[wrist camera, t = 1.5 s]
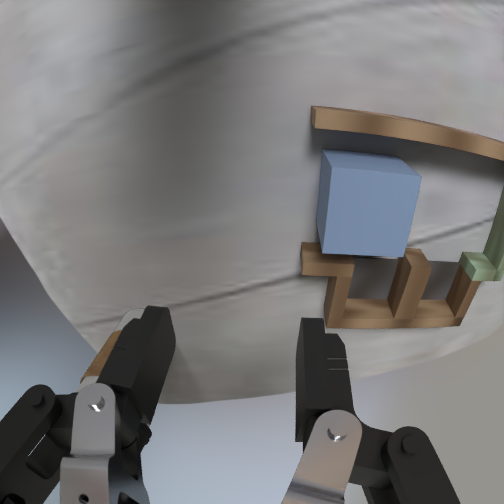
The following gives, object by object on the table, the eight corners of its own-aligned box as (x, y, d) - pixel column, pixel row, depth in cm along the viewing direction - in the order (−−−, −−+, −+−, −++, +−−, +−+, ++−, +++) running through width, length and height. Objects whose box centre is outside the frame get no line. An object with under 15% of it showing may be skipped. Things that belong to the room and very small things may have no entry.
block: (322, 148, 22) (331, 167, 18) (397, 156, 22) (421, 176, 17) (315, 220, 25) (322, 253, 21) (385, 225, 25) (403, 257, 21)
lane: (295, 304, 30) (295, 326, 27) (311, 105, 20) (315, 109, 18) (468, 306, 28) (478, 324, 26) (520, 148, 19) (540, 158, 16)
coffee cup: (175, 302, 31) (125, 432, 18) (188, 355, 36) (156, 469, 23) (105, 296, 32) (41, 405, 19) (125, 347, 36) (82, 448, 24)
